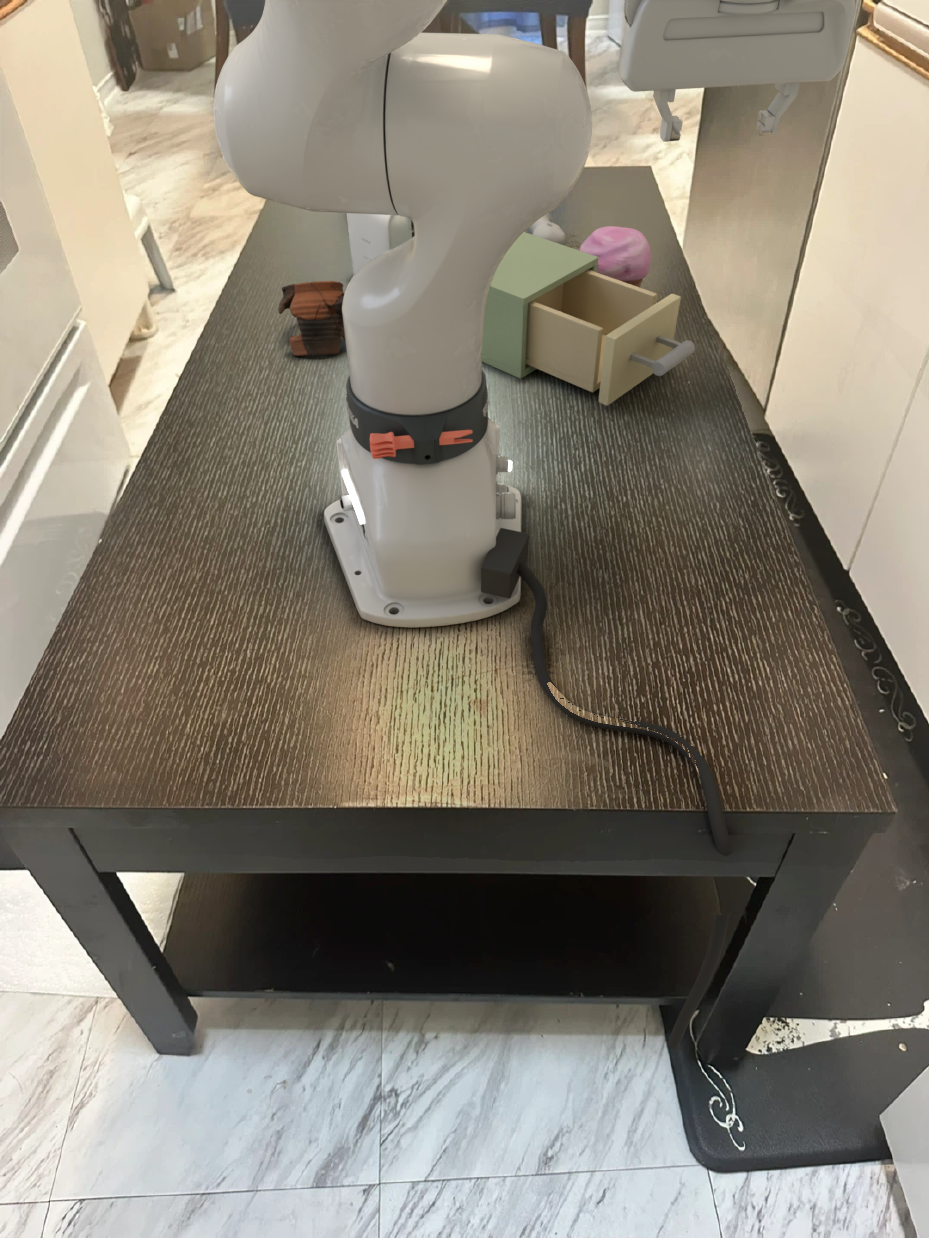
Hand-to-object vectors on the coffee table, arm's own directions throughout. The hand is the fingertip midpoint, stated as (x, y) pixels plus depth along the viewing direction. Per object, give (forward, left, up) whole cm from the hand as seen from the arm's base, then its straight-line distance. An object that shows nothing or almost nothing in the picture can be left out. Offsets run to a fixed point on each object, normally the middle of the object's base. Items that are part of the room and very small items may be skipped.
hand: (717, 136), depth 84 cm
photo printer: (+27, +32, -25) cm, 49 cm away
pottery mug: (+14, +40, -25) cm, 49 cm away
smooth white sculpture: (+36, +8, -25) cm, 44 cm away
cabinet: (+12, +18, -25) cm, 33 cm away
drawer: (+1, +9, -24) cm, 26 cm away
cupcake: (+16, +4, -25) cm, 30 cm away
